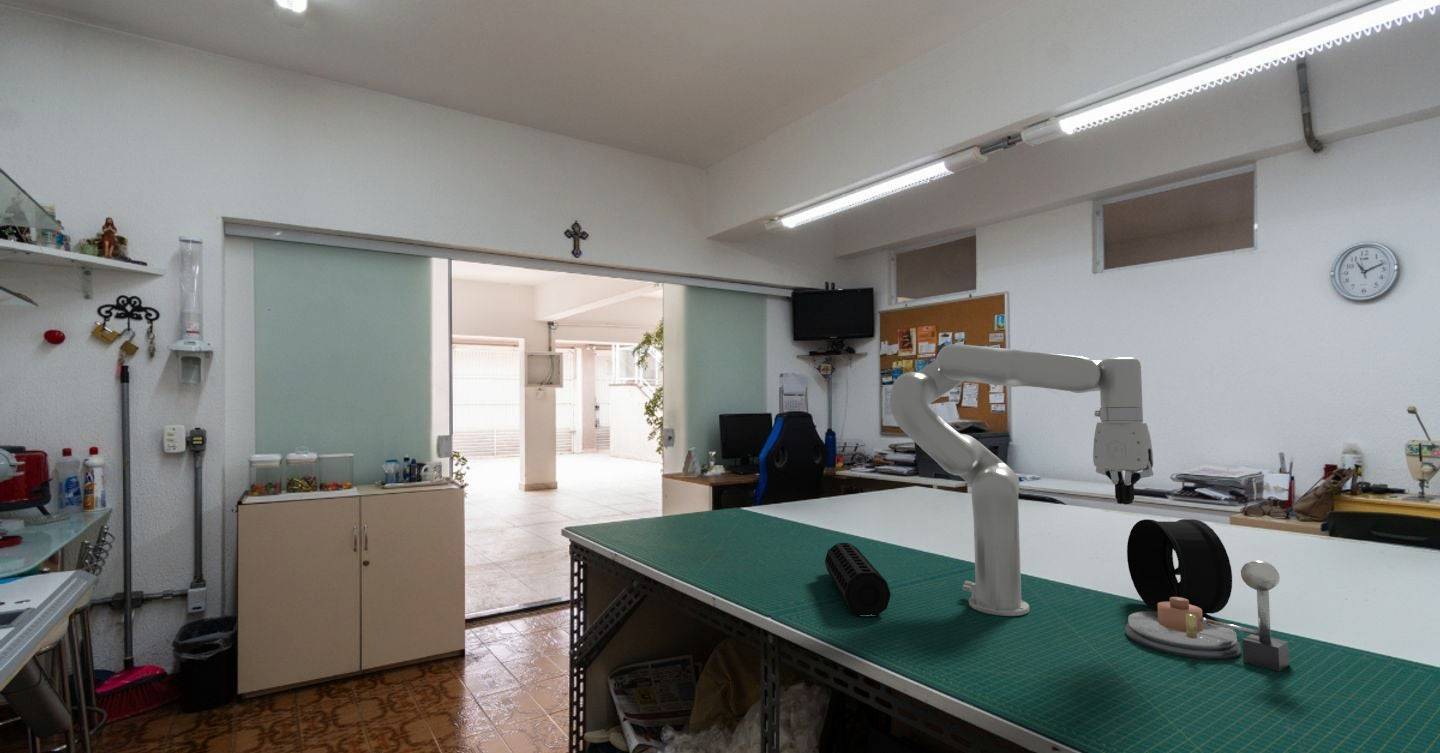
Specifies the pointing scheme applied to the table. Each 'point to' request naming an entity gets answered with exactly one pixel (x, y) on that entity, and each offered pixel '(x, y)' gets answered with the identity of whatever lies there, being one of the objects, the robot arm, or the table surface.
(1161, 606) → the cover
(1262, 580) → the metal lever
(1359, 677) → the table surface
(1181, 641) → the disc
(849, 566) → the roller
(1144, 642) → the turntable base
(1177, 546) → the car wheel rim
